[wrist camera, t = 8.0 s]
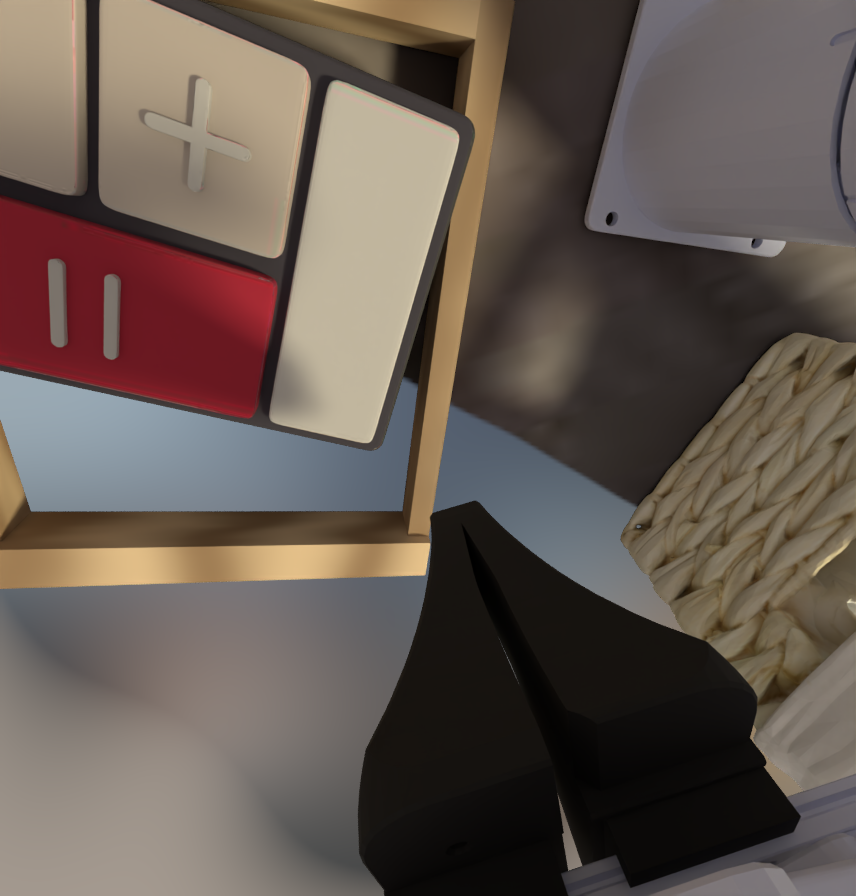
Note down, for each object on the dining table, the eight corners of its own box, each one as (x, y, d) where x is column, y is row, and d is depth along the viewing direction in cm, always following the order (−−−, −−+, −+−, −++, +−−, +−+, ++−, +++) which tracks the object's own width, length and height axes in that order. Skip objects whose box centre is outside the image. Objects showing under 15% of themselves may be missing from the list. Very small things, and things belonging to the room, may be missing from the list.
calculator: (-260, -212, 8) (488, 115, 12) (-64, -79, 12) (458, 138, 16) (-136, 356, 13) (380, 464, 16) (-22, 323, 16) (377, 417, 20)
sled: (493, 25, 15) (521, -6, 12) (417, 541, 24) (425, 575, 22) (-243, -157, 11) (-390, -249, 8) (16, 548, 20) (-22, 589, 18)
